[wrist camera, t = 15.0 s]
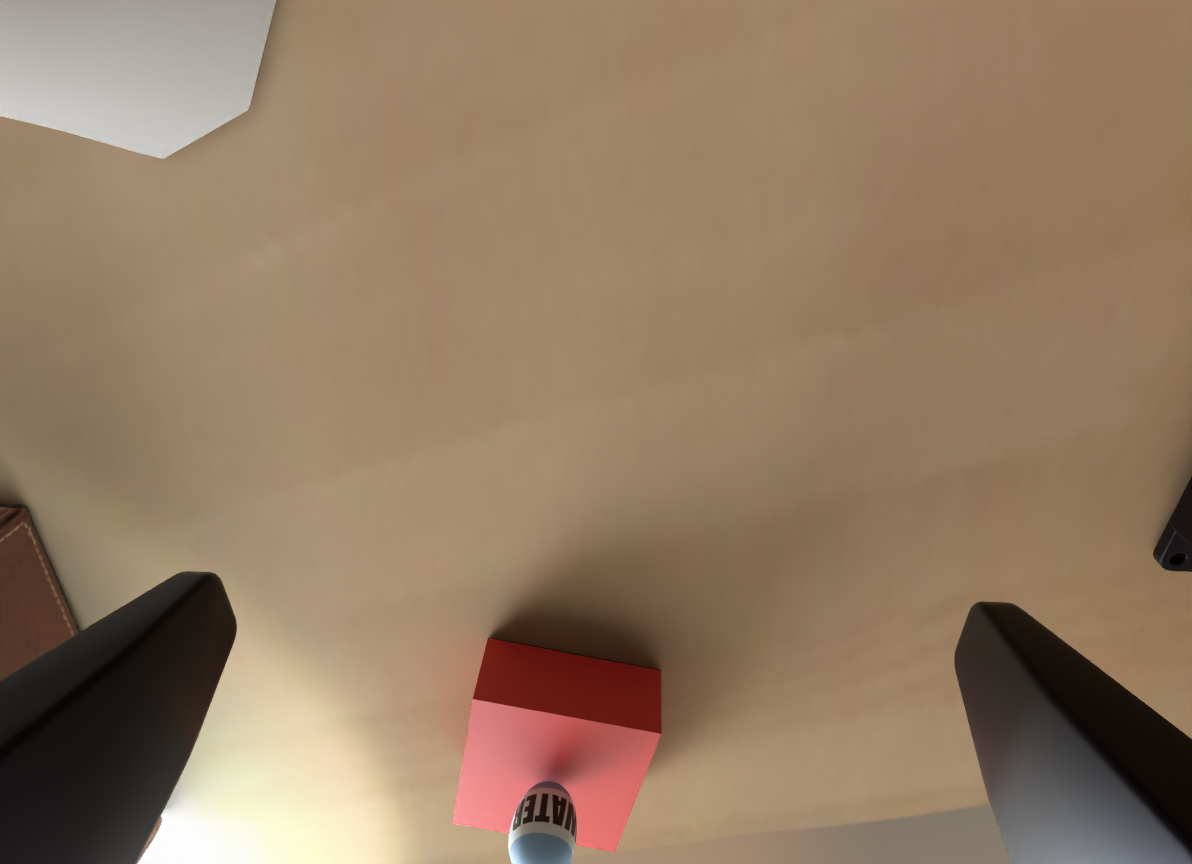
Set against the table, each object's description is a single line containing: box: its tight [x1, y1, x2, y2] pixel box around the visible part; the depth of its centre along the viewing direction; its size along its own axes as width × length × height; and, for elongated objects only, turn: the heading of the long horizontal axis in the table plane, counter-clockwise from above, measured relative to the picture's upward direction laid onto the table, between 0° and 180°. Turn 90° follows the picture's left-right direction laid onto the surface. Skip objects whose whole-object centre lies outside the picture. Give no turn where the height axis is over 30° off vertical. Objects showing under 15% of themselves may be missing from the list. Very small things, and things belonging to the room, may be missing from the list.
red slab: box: [453, 638, 661, 864], centre depth 27 cm, size 8×7×6 cm
